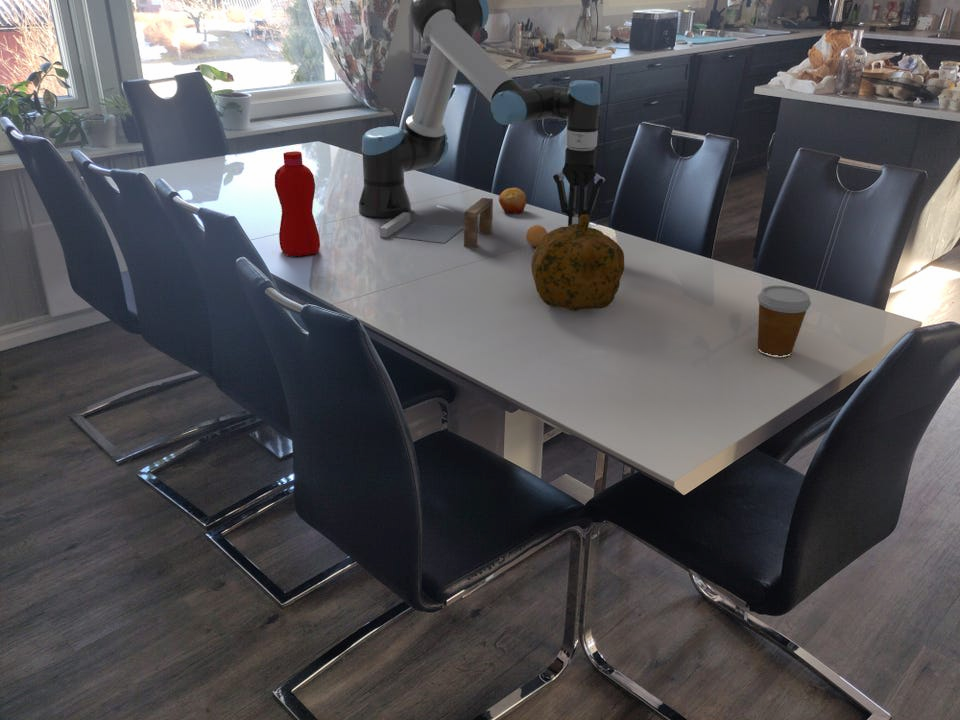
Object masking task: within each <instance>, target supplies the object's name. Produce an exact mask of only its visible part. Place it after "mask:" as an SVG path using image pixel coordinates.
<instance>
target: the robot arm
mask: <svg viewBox="0 0 960 720" xmlns="http://www.w3.org/2000/svg"><path fill="white" fill-rule="evenodd" d="M409 15H410V20H411V23H412V25H413V28H414V30H415V31H416V32H417V33H418V35H419V36H420V37H421V38H422V39H423V40H424V41H425V42H426V43H427V44H429V45H430V46H431V47H430V51H429V55H428V59H427V62H426V66H425V69H424V72H423V73H424V74H423V77H422V81H421V84H420V88H419V92H418V95H417V100H416V104H415V107H414V110H413V114H411V115H409V116H408V117H407V118H406V120H405V123H404V124H405V125H404V128H403V129H402V128H401V127H399V126H393V125H391V126H390V125H389V126H388V125H387V126H379V127H375V128H371V129H369V130H367V131H366V132H365V133H363V135H362V139H361V141H362V142H361V145H362V146H361V152H362V171H363V187H362V190H361V195H360V198H359V201H358V212H359V214H361V215H363V216H365V217H369V218H376V219H377V218H379V219H382V218H383V219H384V218H385V219H389V218H390V219H391V218H396V217H397V216H399V215H400V214H402V213H403V212H406V213H410V214H411V211H412V207H411V205H412V204H411V200H410V198H409V195H408V192H407V189H406V187H405V173H406V172H410V171H416V170H421V169H429V168H432V167H434V166H435V167H436V166H437V165H439V164H441V163H442V162H443V161H444V160H445V159H446V156H447V154H448V151H449V142H448V136H447V133H446V128H445V125H444V124H443V122H444V118H445V113H446V111H447V108H448V104H449V101H450V98H451V93H452V92H453V88H454V84H455V80H456V77H457V75H458V70H459V72H460V73H461V74H463V76H465V78H467V80H469V83H471V84H472V85H473V86H474V87H475V88H476V89H477V90H478V91H479V92H480V93H481V94H482V95H483V96H484V98H486V99H487V101H488V102H489V103H490V111H491V114H492V116H493V119H494V120H495V121H496V122H497V123H498V124H501V125H503V126H505V125H506V126H507V125H518V124H523V123H527V122H528V123H529V122H532V121H539V120H546V119H557V120H558V119H559V120H563V121H566V136H565V137H566V138H565V146H567V147H566V148H565V151H564V152H565V153H564V166H562V170H561V171H559V172H556V173H555V174H553V176H552V178H553V180H554V182H555V183H556V188H557V192H558V193H557V194H558V197H559V198H558V200H559V205H560V209H561V213H562V214H566V215H568V216H567V217H568V218H567V219H568V220H567V226H569V225H572V224H578V223H579V218H580V216H581V215H588V216H590V215H591V214H592V212H593V210H594V207H595V204H596V201H597V199H598V198H597V197H598V195H599V192H600V188H601V186H602V185H603V184H604V182H605V181H606V177H604V176H601V175H600V174H599V173H598V171H597V168H596V160H597V149H596V147H597V145H598V137H599V136H598V135H599V134H598V133H599V116H600V108H601V107H600V106H601V103H602V100H601V84H600V83H599V82H598V81H594V80H588V79H587V80H585V79H584V80H583V79H576V80H572V81H571V82H569V85H568V87H567V86H566V87H565V86H559V85H558V86H557V85H551V84H550V83H549V84H548V83H546V84H545V83H544V84H543V83H537V84H534V85H533V86H532V87H531V88H530V87H529V88H523V87H521V86H520V85H519V84H518V83H517V82H516V81H515V80H514V79H513V78H512V77H511V76H510V75H509V74H508V73H507V72H506V71H505V70H504V69H503V68H502V67H501V65H499V64H498V63H497V62H496V60H494V59H493V58H492V56H490V54H488V53H487V52H486V51H485V49H483V47H482V46H481V45H479V44H478V42H477V41H475V39H474V37H475V32H479V31H480V30H481V29H484V28H485V26H486V25H487V23H488V20H489V16H490V7H489V1H487V0H411V2H410V5H409ZM564 179H566V181H567V182H568V184H569V195H568V196H569V198H568V199H567V194H566V188H565V183H564ZM593 179H594V180H593ZM592 180H593V183H594V186H593V189H592V191H591V195H590V198H589V200H588V204H587V190H588V185H589V184H590V183H591V181H592ZM578 186H579V197H578V199H579V200H578V201H579V202H578V212H577V213H578V214H577V213H576V203H577V202H576V201H577V200H576V199H577V191H578V190H577V188H578ZM586 205H587V208H586Z"/></svg>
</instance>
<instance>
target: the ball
mask: <svg viewBox="0 0 960 720" xmlns="http://www.w3.org/2000/svg"><path fill="white" fill-rule="evenodd" d="M546 234H548V231H547V229H546V228H545V227H544V226H543V225H539V224H535V225H534V224H533V225H531V226H530V227H529V228H528V230H527V231H526V235H525V237H526V240H527V242H528V244H529V245H531V246H532V247H537V246H538V245H539V243H540V242H541V240H542V239H543V237H544V236H545V235H546Z"/></svg>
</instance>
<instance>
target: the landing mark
mask: <svg viewBox="0 0 960 720" xmlns="http://www.w3.org/2000/svg"><path fill="white" fill-rule="evenodd" d="M462 230H464V227H456V226H450V225H449V226H447V225H439V224H429V223H422V222H414V223H413V224H412V225H410V226H409V227H407V228H406V229H404V230H403V231H402V232H400V233H399V234H398V235H396V236H395V237H397V238H398V239H406V240H411V241H422V242H430V243H437V244H446V243H447V242H448V241H449V240H451V239H453V237H454V236H456V235H457V234H459V233H460V231H462Z"/></svg>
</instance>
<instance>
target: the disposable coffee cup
mask: <svg viewBox="0 0 960 720" xmlns="http://www.w3.org/2000/svg"><path fill="white" fill-rule="evenodd" d="M757 300H758V303H759V306H758V324H757V325H758V326H757V327H758V329H757V346H758V349H760V350H761V351H762V352H764V353H768V354H771V355H778V356H783V355H788V354H790V353H791V352H793V351H794V347H795V344H796V342H797V339H798V336H799V333H800V331H801V327H802V325H803V322H804V319H805V316H806V314H807V310H808V309H809V307H811V306H812V302H811V300H810V295H809V293H808V292H806V291H804V290H803V289H799V288H797V287H793V286H789V285H788V286H787V285H768V286H765V287H763V288H762V289H761V291H760V293H759V294H758V295H757ZM758 349H757V350H758ZM791 354H792V353H791Z"/></svg>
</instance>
